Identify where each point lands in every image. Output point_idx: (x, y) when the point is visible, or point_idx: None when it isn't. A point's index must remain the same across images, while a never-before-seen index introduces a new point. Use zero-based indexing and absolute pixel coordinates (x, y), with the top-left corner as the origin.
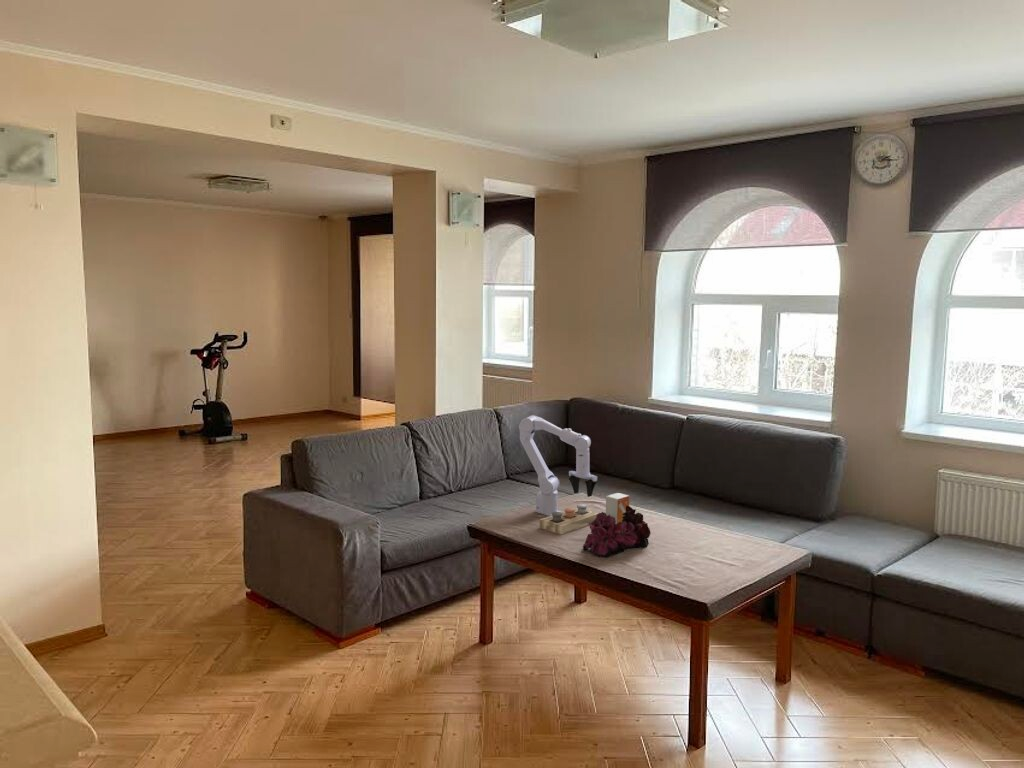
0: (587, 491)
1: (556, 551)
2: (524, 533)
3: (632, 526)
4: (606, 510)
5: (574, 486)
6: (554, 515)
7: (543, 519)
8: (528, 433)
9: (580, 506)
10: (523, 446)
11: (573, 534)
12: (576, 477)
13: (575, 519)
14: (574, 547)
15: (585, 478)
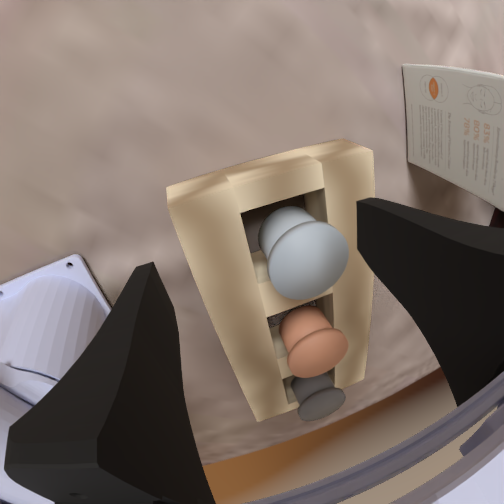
0: (399, 292)
1: (406, 382)
2: (268, 427)
3: None
4: (474, 193)
5: (180, 387)
6: (327, 413)
7: (266, 414)
8: None
9: (319, 283)
10: None
11: (376, 324)
12: (179, 501)
13: (354, 319)
14: (426, 347)
15: (449, 429)
